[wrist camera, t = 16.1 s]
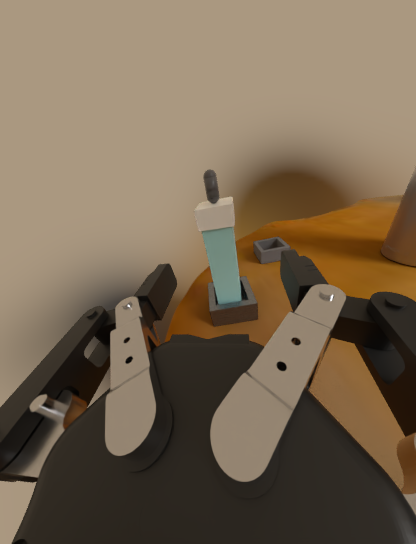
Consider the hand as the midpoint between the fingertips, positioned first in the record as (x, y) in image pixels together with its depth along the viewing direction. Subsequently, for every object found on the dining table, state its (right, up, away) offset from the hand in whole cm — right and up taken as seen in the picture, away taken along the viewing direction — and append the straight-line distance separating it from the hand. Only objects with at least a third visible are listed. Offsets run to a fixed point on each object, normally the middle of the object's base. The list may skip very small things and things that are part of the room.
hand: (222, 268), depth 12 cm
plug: (+3, -6, +16) cm, 17 cm away
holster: (+14, +4, +28) cm, 32 cm away
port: (+3, -6, +17) cm, 18 cm away
